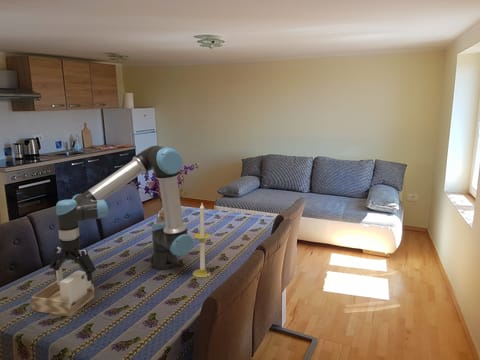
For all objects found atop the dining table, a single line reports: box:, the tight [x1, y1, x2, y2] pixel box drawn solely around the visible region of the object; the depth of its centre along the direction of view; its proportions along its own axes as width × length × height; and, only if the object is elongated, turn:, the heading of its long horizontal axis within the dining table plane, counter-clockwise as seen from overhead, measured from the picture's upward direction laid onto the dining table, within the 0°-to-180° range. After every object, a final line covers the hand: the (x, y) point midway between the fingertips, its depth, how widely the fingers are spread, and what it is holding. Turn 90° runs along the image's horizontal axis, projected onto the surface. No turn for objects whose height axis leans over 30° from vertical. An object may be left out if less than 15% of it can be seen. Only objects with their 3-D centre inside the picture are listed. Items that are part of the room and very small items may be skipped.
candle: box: [192, 203, 211, 278], centre depth 182 cm, size 10×10×38 cm
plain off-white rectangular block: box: [59, 270, 87, 307], centre depth 153 cm, size 4×11×12 cm, turn 167°
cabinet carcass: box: [30, 280, 95, 317], centre depth 155 cm, size 18×16×6 cm
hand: (74, 285), depth 153 cm, fingers open, 13 cm apart
